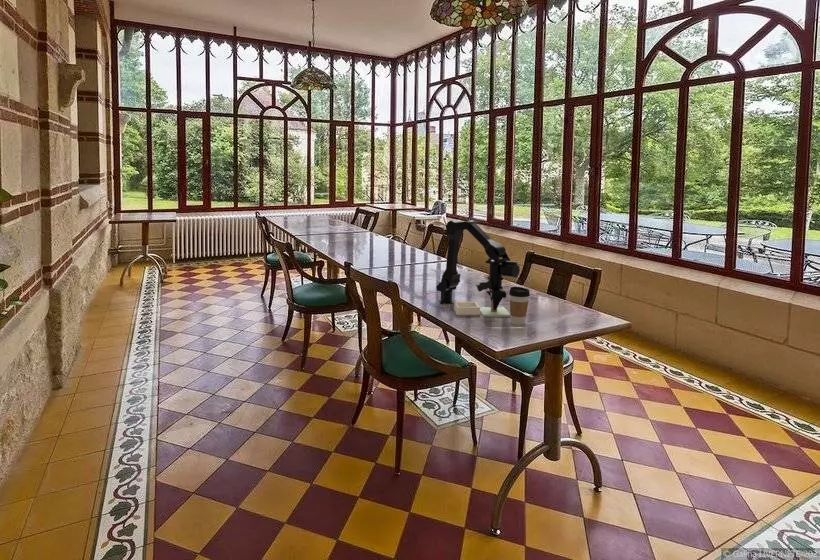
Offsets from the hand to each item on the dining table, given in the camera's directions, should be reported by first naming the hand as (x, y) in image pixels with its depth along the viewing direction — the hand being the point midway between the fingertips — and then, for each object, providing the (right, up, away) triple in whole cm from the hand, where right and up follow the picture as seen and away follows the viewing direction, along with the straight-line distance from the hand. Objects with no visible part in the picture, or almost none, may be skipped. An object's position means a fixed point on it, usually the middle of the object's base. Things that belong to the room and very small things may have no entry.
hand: (494, 308), depth 236 cm
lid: (0, -2, 0) cm, 2 cm away
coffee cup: (+8, -6, -14) cm, 17 cm away
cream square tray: (-12, -2, +1) cm, 12 cm away
